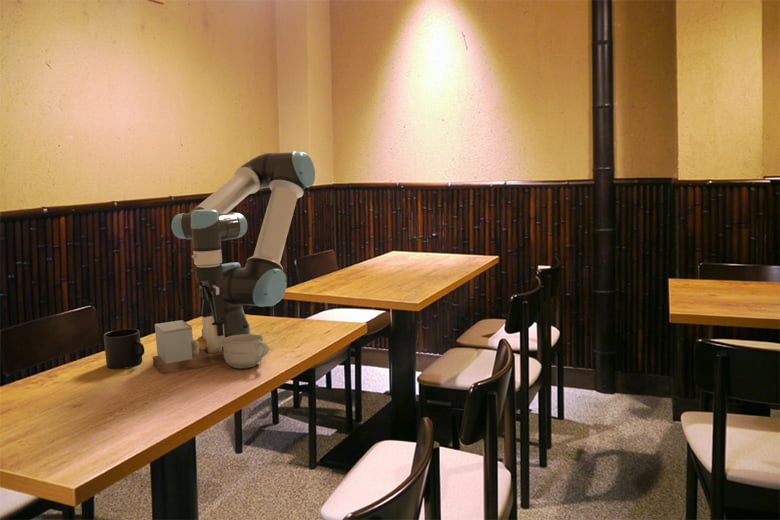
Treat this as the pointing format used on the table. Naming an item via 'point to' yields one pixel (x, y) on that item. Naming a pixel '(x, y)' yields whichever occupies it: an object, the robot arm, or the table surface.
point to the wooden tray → (198, 360)
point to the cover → (174, 341)
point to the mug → (123, 348)
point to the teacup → (244, 350)
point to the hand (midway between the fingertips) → (214, 342)
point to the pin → (211, 336)
